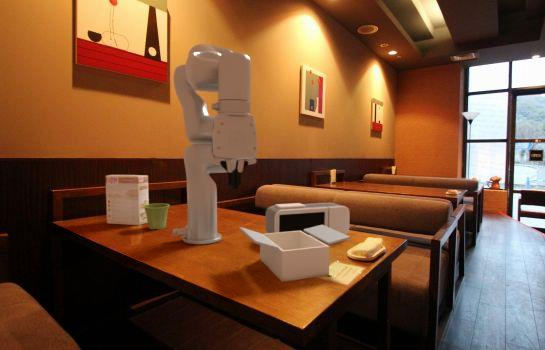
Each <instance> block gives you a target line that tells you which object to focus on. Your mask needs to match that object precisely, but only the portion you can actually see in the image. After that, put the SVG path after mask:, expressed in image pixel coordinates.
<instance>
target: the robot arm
mask: <svg viewBox="0 0 545 350" xmlns="http://www.w3.org/2000/svg"><path fill="white" fill-rule="evenodd" d="M173 85H174V91H175V95H176V96H177V99H178V101H179V102H180V105H181V108H182V115H183V123H184V131H185V136H186V138H187V140H188V142H189V143H192V144H191V145H188V146H187V147H186V148H185V149H184V152H183V163H184V168H185V177H186V194H187V195H186V196H187V197H186V198H187V201H186V202H187V208H186V211H187V215H186V216H187V224H186V225H185V227H182V228H173V229H172V236H178V237H179V236H182V241H183V242H184V243H185V244H186V243H187V244H189V245H208V244H214V243H217V242H219V241H221V240H222V236H223V235H222V234H221V233H219V232H218V204H217V203H218V202H217V201H218V196H217V195H218V192H217V191H218V190H217V184H216V182H215V181H214V180H213V178H212V177H211V176H210V174H213V173H214V174H216V173H217V174H219V173H221V174H223V173H225V174H226V186H227V187H228V189H229V190H231V191H232V190H239V188H240V187H241V186H242V183H241V181H242V173H243V171H244V170H245V168H247V166H249V165H255V164H256V163H257V162H258V161H257V157H258V136H257V126H256V125H257V124H256V119H255V116H254V115H251V111H252V109H251V108H252V107H251V106H252V105H251V104H252V103H251V101H252V100H251V99H252V98H251V97H252V95H251V94H252V92H251V91H252V90H251V89H252V60H251V58H250V56H248V54H245V53H242V52H236V51H232V49H230V48H228V47H223V46H218V45H217V46H216V45H210V44H196V45H194V46H193V47H191V48H190V50H189V52H188V55H187V59H186V63H185V64H181V65H178V66H176V68H175V69H174V71H173ZM197 91H199V92H205V93H206V92H208V93H217V102H215V103H211V104H210V107H211V110H214V111H215V112H217V114H215V115H214V116H211V115H210V114H209V109H208V105H207V103H206V101H205V100H204V99H203V98H202V97H201V96H200V95H199V93H197ZM239 186H240V187H239Z"/></svg>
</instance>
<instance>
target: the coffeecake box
mask: <svg viewBox="0 0 545 350" xmlns="http://www.w3.org/2000/svg"><path fill="white" fill-rule="evenodd" d="M105 198H106V199H105V200H106V203H105V204H106V224H111V225H129V226H141V225H145V224H148V222H147V215H146V211H145V208H144V207H143V206H145V205H148V204H150V202H149V201H150V199H149V175H147V174H145V175H144V174H142V175H140V174H109V175H108V174H107V175H105Z"/></svg>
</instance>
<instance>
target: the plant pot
mask: <svg viewBox="0 0 545 350" xmlns="http://www.w3.org/2000/svg"><path fill="white" fill-rule="evenodd" d="M170 206H171V205H170V204H168V203H149V204H148V205H145V206H143V207H144V208H145V211H146V215H147V222H148V223H147V228H148V229H149V230H163V229H165V228H166V226H167V218H168V212H169V211H168V210H169V207H170Z"/></svg>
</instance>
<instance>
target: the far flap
mask: <svg viewBox="0 0 545 350" xmlns="http://www.w3.org/2000/svg"><path fill="white" fill-rule="evenodd" d="M304 231H305V232H307V233H308V234H310V235H312V236H314V237H316V238H318V239H320V240H319V241H321V242H323V243H324V244H326V245H328V246H330V245H333V244H336V243H340V242H345V241H346V240H351V239H352V238H351V236H350V235H347V234H346V235H345V234H343V233H341V232H338V231H336V230H334V229H331V228H329V227H327V226H324V225H319V226H315V227H311V228H307V229H304Z"/></svg>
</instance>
